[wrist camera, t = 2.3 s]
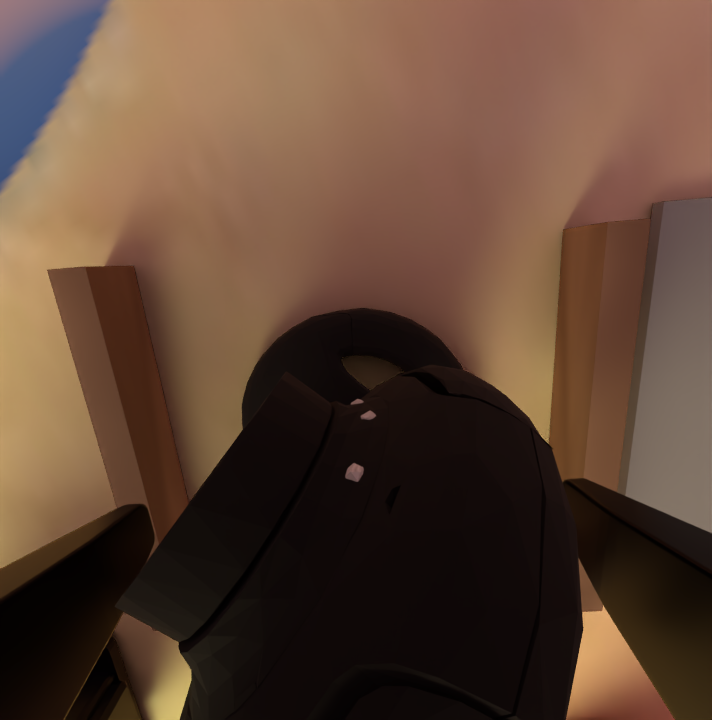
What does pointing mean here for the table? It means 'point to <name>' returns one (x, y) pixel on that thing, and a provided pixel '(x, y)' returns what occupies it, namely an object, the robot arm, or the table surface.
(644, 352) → the mat
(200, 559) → the webcam
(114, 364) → the holder
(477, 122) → the table surface
